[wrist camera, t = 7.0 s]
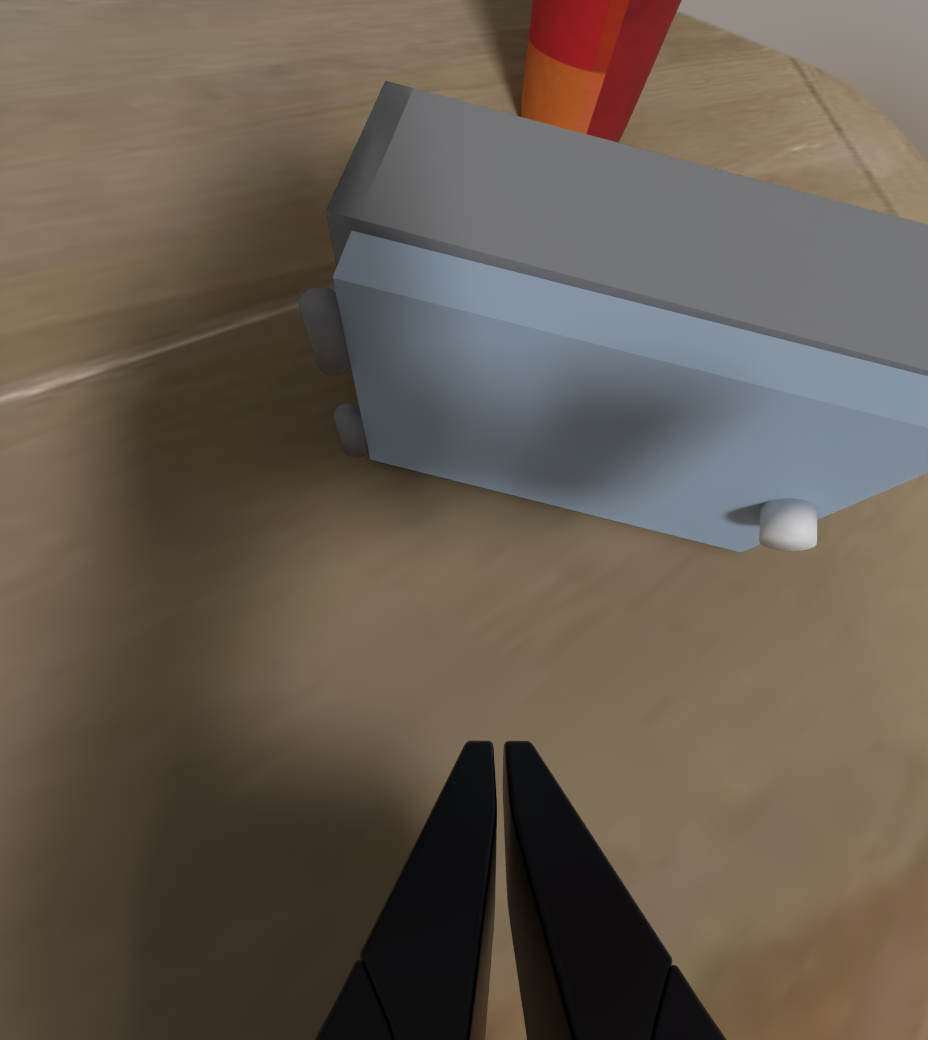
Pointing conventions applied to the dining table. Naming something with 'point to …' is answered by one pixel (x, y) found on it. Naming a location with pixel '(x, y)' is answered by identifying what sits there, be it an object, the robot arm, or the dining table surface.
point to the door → (606, 400)
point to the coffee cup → (591, 61)
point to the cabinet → (636, 227)
